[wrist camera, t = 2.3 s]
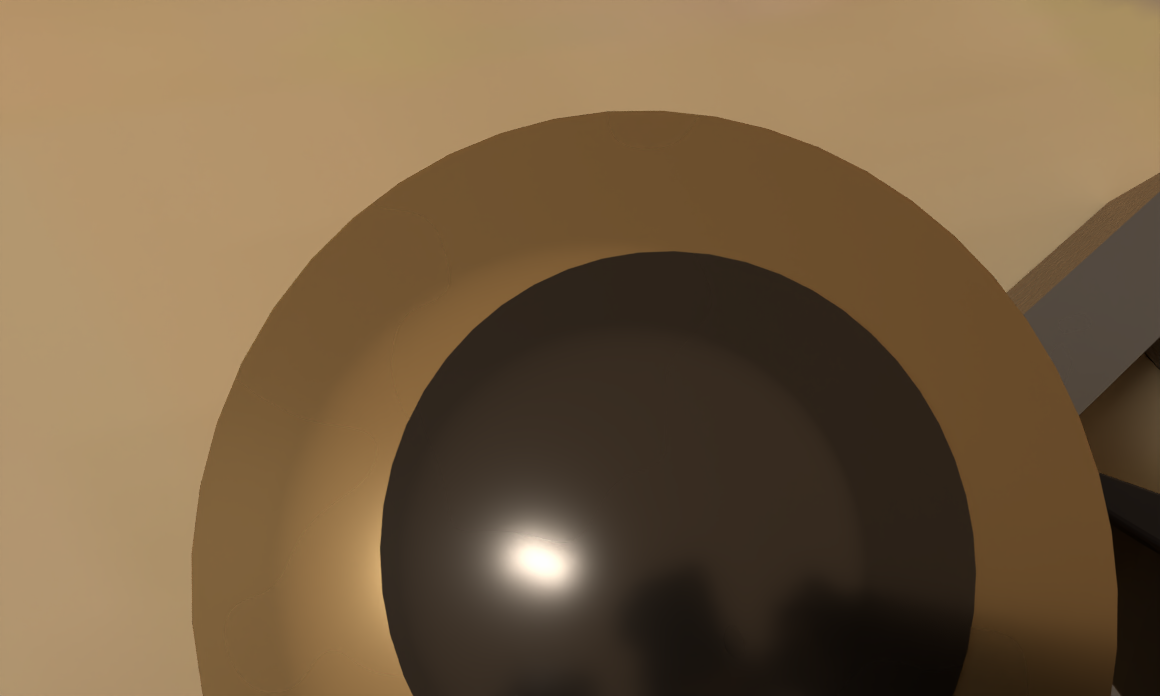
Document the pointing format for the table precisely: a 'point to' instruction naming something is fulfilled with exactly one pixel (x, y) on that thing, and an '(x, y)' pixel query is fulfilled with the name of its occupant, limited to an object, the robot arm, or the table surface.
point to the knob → (650, 443)
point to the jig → (1100, 296)
